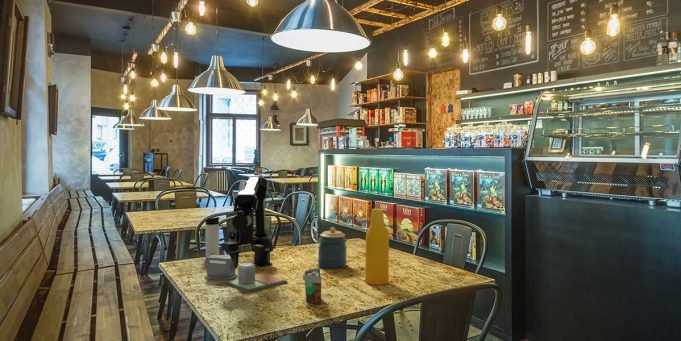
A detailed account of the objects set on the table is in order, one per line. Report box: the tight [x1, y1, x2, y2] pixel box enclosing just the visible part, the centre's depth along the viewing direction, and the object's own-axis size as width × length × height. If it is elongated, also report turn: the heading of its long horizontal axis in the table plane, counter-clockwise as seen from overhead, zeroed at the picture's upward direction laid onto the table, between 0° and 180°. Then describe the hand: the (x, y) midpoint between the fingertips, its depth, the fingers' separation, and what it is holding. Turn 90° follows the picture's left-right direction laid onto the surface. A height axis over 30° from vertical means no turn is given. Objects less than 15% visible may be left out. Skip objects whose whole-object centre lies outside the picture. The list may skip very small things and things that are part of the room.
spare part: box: [237, 262, 256, 285], centre depth 178 cm, size 5×5×7 cm
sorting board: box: [224, 272, 288, 293], centre depth 182 cm, size 18×16×1 cm
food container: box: [302, 267, 322, 306], centre depth 161 cm, size 12×6×10 cm, turn 5°
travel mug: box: [205, 216, 220, 260], centre depth 223 cm, size 6×7×20 cm
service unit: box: [204, 254, 238, 281], centre depth 190 cm, size 7×11×8 cm, turn 76°
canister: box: [317, 226, 348, 270], centre depth 210 cm, size 13×13×18 cm
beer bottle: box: [364, 208, 390, 286], centre depth 184 cm, size 9×9×29 cm
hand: (246, 266), depth 178 cm, fingers open, 9 cm apart
